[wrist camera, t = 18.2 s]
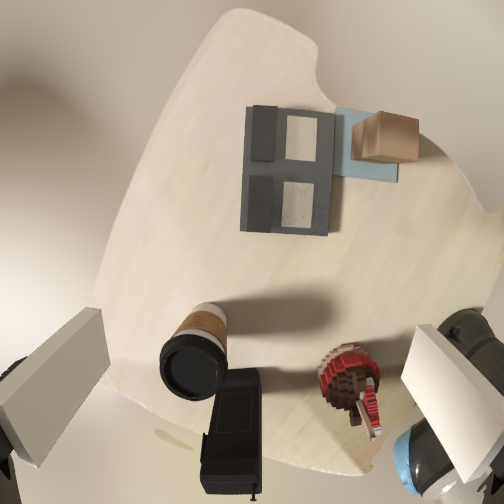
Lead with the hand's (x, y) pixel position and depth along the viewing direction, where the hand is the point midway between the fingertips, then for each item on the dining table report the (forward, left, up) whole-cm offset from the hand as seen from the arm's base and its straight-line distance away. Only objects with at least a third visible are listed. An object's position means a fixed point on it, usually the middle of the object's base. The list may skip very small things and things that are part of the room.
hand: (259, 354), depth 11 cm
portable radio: (-27, +2, -33) cm, 43 cm away
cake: (-23, -16, -33) cm, 43 cm away
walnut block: (+13, -15, -32) cm, 38 cm away
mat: (+13, -15, -33) cm, 38 cm away
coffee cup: (-15, +7, -33) cm, 37 cm away
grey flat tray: (+8, -4, -33) cm, 34 cm away
